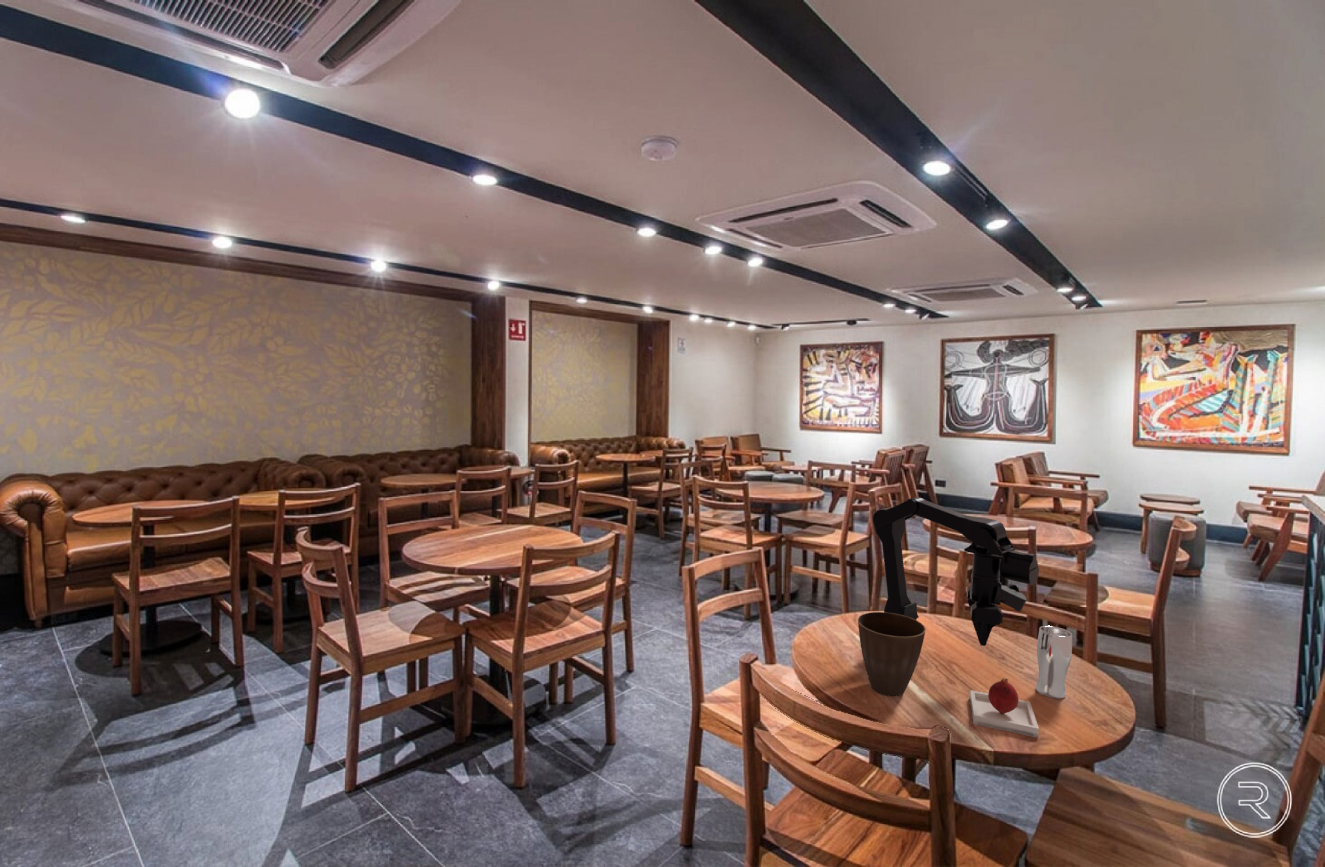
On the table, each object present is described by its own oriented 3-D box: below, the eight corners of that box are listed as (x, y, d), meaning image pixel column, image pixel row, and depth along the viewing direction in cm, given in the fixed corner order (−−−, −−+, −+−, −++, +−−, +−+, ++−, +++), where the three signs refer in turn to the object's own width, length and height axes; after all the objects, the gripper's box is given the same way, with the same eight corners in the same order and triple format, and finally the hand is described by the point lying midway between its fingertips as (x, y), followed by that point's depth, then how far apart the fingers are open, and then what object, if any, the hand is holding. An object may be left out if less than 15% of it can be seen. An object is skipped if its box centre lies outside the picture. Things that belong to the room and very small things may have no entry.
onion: (1016, 723, 133) (1019, 687, 132) (986, 715, 136) (988, 679, 135) (1017, 711, 138) (1020, 676, 137) (988, 703, 141) (991, 669, 140)
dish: (973, 723, 134) (973, 714, 134) (969, 698, 145) (970, 690, 145) (1038, 737, 129) (1038, 728, 129) (1029, 710, 140) (1029, 701, 140)
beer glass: (1073, 701, 145) (1078, 638, 144) (1040, 697, 146) (1045, 635, 145) (1060, 687, 152) (1065, 627, 150) (1029, 683, 153) (1033, 623, 152)
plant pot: (922, 710, 139) (927, 640, 137) (852, 697, 144) (856, 629, 142) (920, 681, 152) (924, 617, 151) (856, 670, 158) (859, 608, 156)
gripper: (1031, 590, 135) (1025, 660, 137) (1019, 568, 153) (1014, 630, 154) (974, 583, 140) (969, 650, 141) (968, 561, 157) (964, 622, 158)
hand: (981, 638), depth 148 cm, fingers open, 9 cm apart
